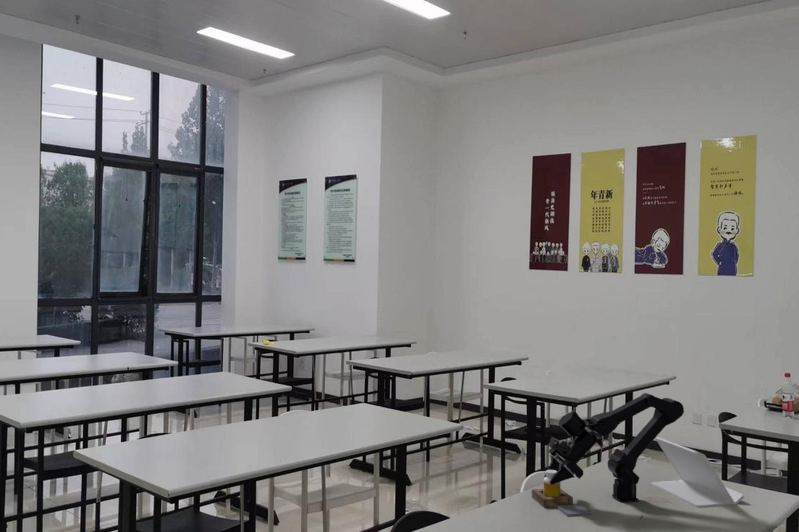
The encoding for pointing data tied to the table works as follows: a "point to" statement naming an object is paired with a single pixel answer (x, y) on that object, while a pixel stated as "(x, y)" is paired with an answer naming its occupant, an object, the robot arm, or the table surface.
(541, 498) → the walnut collar
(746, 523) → the table surface
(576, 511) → the rubber mat
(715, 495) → the tablet stand
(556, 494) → the supplement bottle
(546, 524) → the table surface
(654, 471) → the table surface
